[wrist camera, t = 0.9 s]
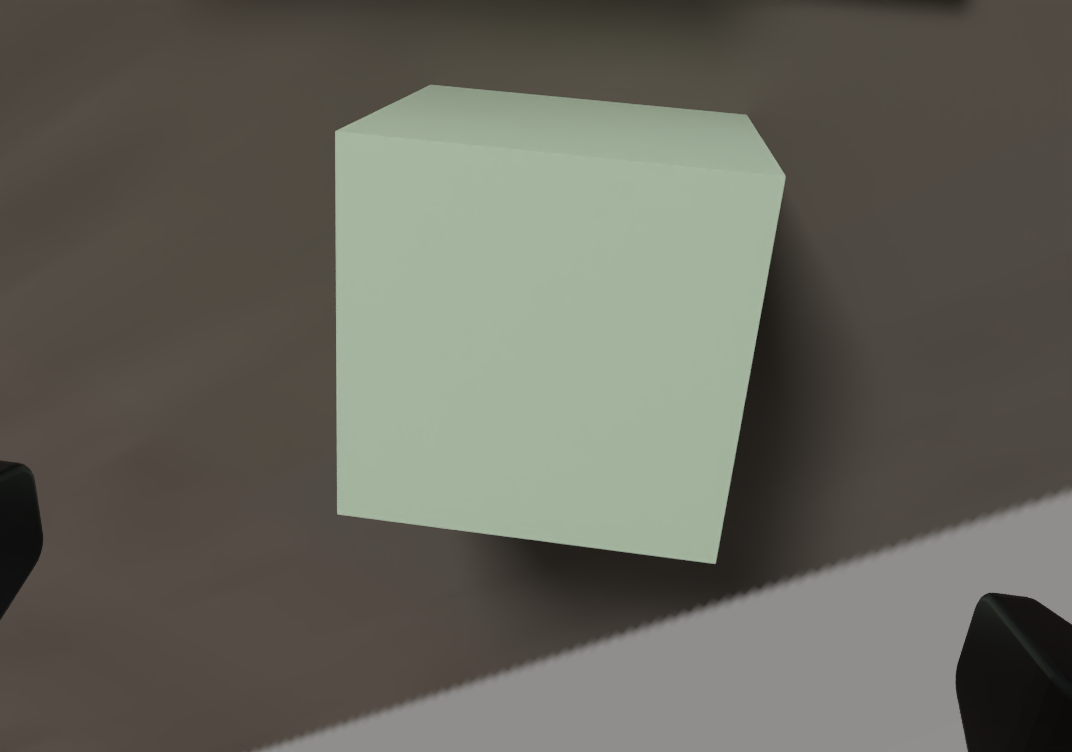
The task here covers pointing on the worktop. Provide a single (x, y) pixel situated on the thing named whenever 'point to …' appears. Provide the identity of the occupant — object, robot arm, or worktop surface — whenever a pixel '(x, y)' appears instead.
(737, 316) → the sage cube
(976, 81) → the worktop surface
